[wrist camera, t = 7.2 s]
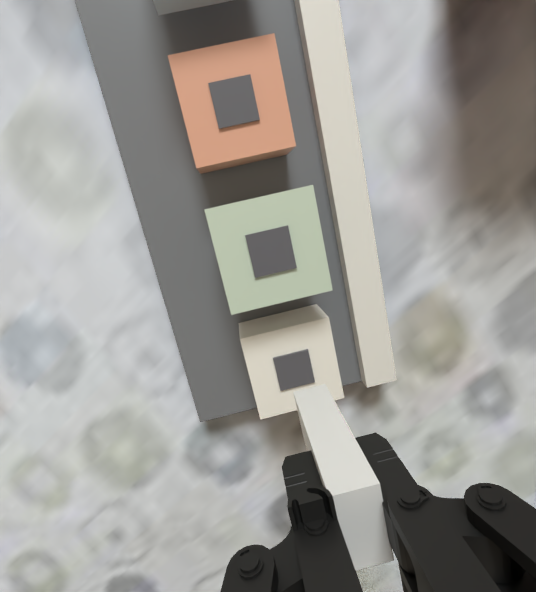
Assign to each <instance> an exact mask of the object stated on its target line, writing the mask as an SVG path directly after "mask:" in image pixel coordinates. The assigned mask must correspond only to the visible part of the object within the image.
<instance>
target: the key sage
mask: <svg viewBox="0 0 536 592" xmlns="http://www.w3.org/2000/svg"><path fill="white" fill-rule="evenodd" d="M204 211H205V214H206V218H207V222H208V226H209V230H210V234H211V238H212V242H213V246H214V250H215V253H216V257H217V261H218V265H219V269H220V273H221V277H222V281H223V285H224V289H225V292H226V296H227V300H228V304H229V308H230V312H231V315H233V314H237V313H241V312H246V311H250V310H254V309H258V308H262V307H266V306H270V305H274V304H279V303H283V302H287V301H291V300H295V299H299V298H303V297H307V296H312V295H316V294H320V293H324V292H328V291H332V290H333V289H332V284H331V278H330V273H329V268H328V262H327V257H326V251H325V246H324V241H323V235H322V230H321V225H320V219H319V214H318V208H317V203H316V198H315V192H314V187H313V185H310V186H305V187H301V188H296V189H292V190H288V191H283V192H279V193H274V194H270V195H266V196H261V197H257V198H253V199H248V200H244V201H239V202H235V203H231V204H226V205H222V206H218V207H213V208H209V209H204Z"/></svg>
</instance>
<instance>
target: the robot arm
mask: <svg viewBox="0 0 536 592" xmlns="http://www.w3.org/2000/svg"><path fill="white" fill-rule="evenodd" d="M293 393H294V398H295V402H296V407H297V411H298V415H299V420H300V424H301V428H302V433H303V437H304V442H305V446H306V449H307V452H303V453H299V454H295V455H291V456H287V457H285V460H284V463H283V466H282V470H283V475H284V480H285V486H286V491H287V496H288V512H289V516H290V520H291V524H292V527H291V530H290V532H289V534H288V536H287V537H286V538H285V539H284V540H283V541H282V542H281V543H279V544H278V545H277V546H275V547H273V548H272V549H270V550H269V549H268V548H266V547H264V546H262V545H250V546H246V547H244V548H243V549H241V550H239V551H238V552H237V553H236V554H235V555H234V556H233V557H232V558H231V560H230V562H229V564H228V566H227V569H226V573H225V577H224V581H223V585H222V588H221V592H363V591H362V588H361V585H360V582H359V579H358V576H357V574H356V570H360V569H364V568H367V567H371V566H375V565H379V564H382V563H386V562H390V561H393V560H394V558H393V552H392V549H393V551H394V553H395V556H396V558H397V560H398V563H399V569H400V574H401V580H402V585H403V591H404V592H536V509H535V508H534V507H532V506H531V505H529V504H528V503H526V502H525V501H524V500H522V499H521V498H519V497H518V496H516V495H515V494H513V493H512V492H510V491H509V490H507V489H505V488H503V487H501V486H499V485H495V484H490V483H479V484H475V485H472V486H470V487H469V488H468V489H467V490H466V492H465V495H464V499H460V498H440V497H436V496H433V495H432V494H431V493H430V492H429V491H428V490H427V489H426V488H424V487H421V486H419V485H417V483H416V482H415V480H414V479H413V478H412V476H411V475H410V473H409V472H408V470H407V469H406V467H405V466H404V464H403V463H402V461H401V460H400V459H399V457H398V456H397V454H396V453H395V451H394V450H393V448H392V447H391V445H390V444H389V442H388V441H387V440H386V439H385V438H383V437H382V436H380V435H379V434H377V433H373V434H369V435H365V436H361V437H357V438H355V437H354V435H353V433H352V432H351V430H350V428H349V426H348V424H347V422H346V421H345V419H344V417H343V415H342V413H341V411H340V410H339V408H338V406H337V404H336V402H335V401H334V399H333V397H332V395H331V393H330V391H329V390H328V388H327V386H326V384H323V385H319V386H315V387H311V388H307V389H303V390H299V391H295V392H293Z"/></svg>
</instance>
